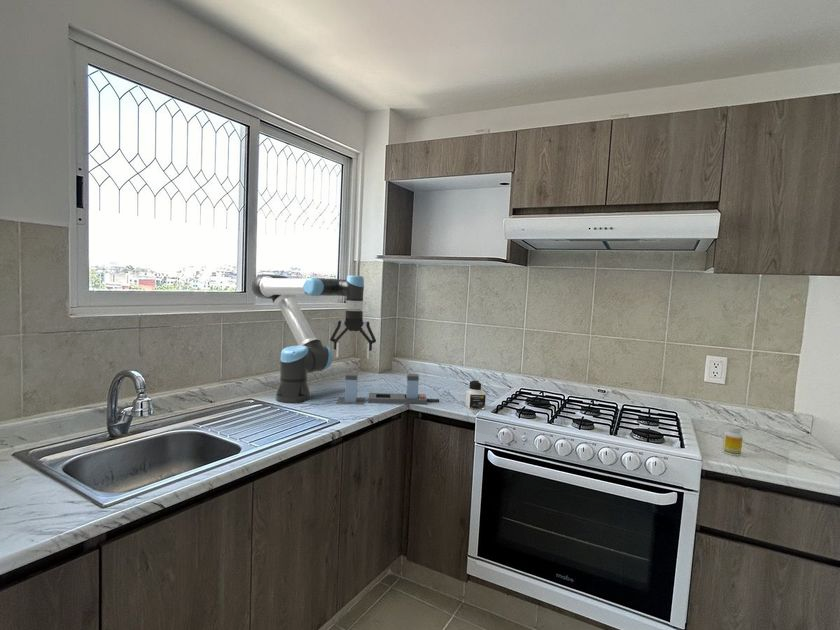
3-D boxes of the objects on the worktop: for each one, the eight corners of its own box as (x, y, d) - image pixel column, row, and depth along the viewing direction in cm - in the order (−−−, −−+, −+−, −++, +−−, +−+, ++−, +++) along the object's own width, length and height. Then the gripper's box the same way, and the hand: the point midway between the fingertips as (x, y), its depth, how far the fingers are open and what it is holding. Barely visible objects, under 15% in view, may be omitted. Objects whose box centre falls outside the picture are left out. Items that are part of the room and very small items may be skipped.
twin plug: (406, 402, 201) (407, 376, 200) (405, 399, 206) (407, 373, 205) (417, 402, 201) (418, 376, 200) (416, 399, 206) (418, 374, 205)
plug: (344, 401, 199) (345, 375, 198) (345, 399, 204) (346, 373, 203) (355, 402, 199) (356, 375, 198) (356, 399, 204) (357, 373, 203)
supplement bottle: (719, 449, 161) (721, 423, 160) (735, 451, 160) (738, 425, 159) (727, 455, 156) (729, 428, 155) (744, 457, 155) (746, 429, 154)
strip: (368, 405, 197) (368, 397, 197) (369, 399, 207) (369, 391, 207) (440, 407, 200) (440, 399, 199) (437, 401, 209) (438, 393, 209)
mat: (335, 404, 195) (335, 403, 195) (338, 397, 207) (338, 396, 207) (363, 405, 196) (363, 404, 196) (364, 398, 208) (364, 397, 208)
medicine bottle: (469, 409, 198) (471, 383, 197) (465, 405, 205) (466, 379, 204) (485, 409, 199) (486, 383, 198) (480, 405, 206) (481, 379, 205)
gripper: (324, 309, 194) (323, 357, 196) (382, 311, 196) (380, 359, 197) (327, 308, 202) (325, 355, 203) (382, 310, 203) (380, 357, 205)
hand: (352, 357), depth 200 cm, fingers open, 13 cm apart
